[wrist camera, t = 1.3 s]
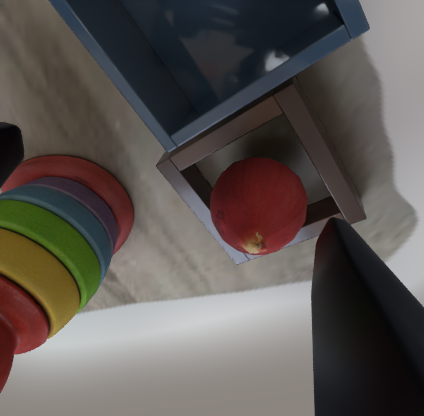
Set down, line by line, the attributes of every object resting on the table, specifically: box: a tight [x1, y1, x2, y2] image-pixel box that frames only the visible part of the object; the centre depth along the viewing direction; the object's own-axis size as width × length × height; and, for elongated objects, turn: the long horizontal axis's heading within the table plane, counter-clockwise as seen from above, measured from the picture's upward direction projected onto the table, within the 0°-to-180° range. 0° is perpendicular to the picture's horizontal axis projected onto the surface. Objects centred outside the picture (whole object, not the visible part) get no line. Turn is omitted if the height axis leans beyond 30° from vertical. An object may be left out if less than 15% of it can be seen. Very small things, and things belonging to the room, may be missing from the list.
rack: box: [156, 75, 366, 265], centre depth 22 cm, size 10×10×2 cm
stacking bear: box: [0, 156, 134, 393], centre depth 21 cm, size 11×10×18 cm
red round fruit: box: [210, 157, 307, 255], centre depth 20 cm, size 6×6×8 cm
